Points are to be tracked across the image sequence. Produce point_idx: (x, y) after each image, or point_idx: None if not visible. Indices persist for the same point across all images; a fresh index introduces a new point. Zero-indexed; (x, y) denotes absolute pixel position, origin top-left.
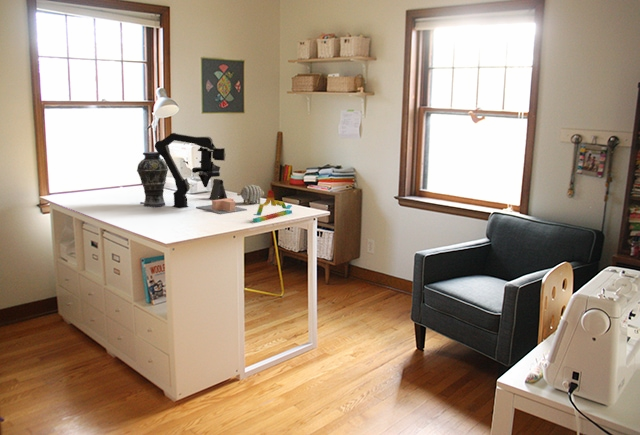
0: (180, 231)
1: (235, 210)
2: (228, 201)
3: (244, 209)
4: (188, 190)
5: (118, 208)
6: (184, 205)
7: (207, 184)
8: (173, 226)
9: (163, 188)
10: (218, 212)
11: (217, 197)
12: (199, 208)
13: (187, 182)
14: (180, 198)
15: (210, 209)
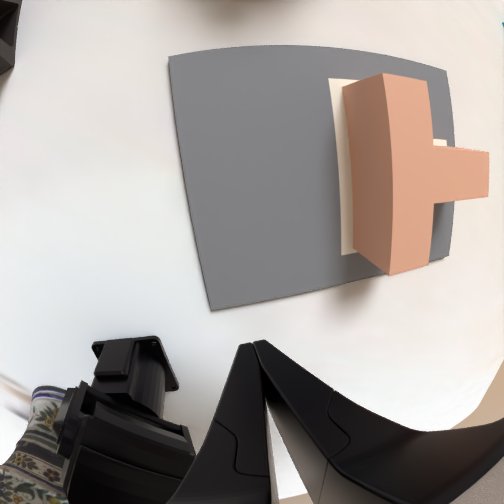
0: (461, 401)
1: (447, 144)
2: (473, 188)
3: (446, 85)
4: (132, 423)
5: None
6: (159, 363)
7: (294, 363)
8: (429, 415)
9: (56, 468)
10: (433, 257)
11: (5, 48)
12: (254, 299)
13: (106, 486)
14: (162, 418)
15: (350, 260)
